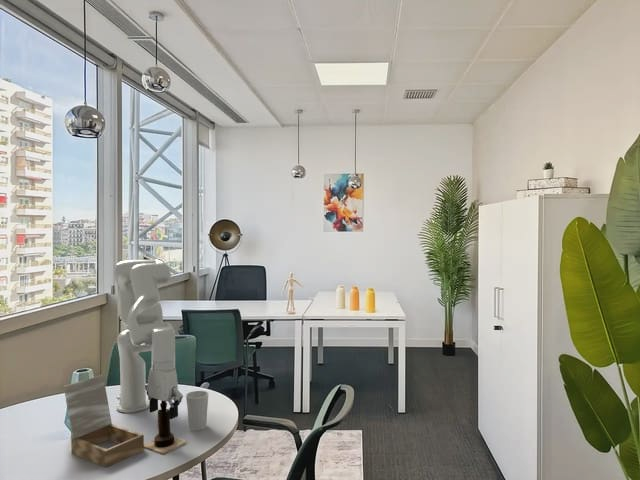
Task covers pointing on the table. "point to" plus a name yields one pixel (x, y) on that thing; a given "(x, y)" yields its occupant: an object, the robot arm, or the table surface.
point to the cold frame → (97, 424)
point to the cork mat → (164, 450)
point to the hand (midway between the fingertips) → (163, 414)
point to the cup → (197, 409)
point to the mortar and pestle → (163, 428)
